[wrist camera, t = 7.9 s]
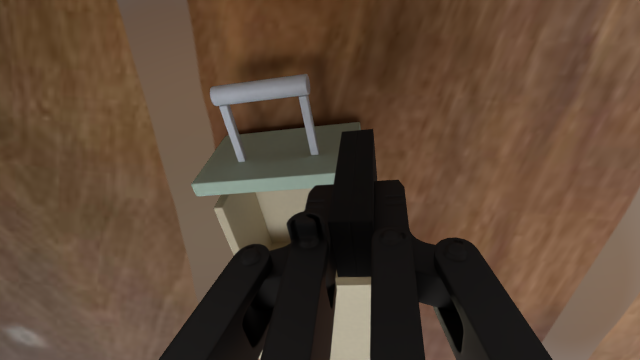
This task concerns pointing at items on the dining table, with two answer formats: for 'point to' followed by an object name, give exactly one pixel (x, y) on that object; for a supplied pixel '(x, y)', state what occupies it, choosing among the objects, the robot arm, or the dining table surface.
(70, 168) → the dining table surface
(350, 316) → the cabinet
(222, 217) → the drawer
